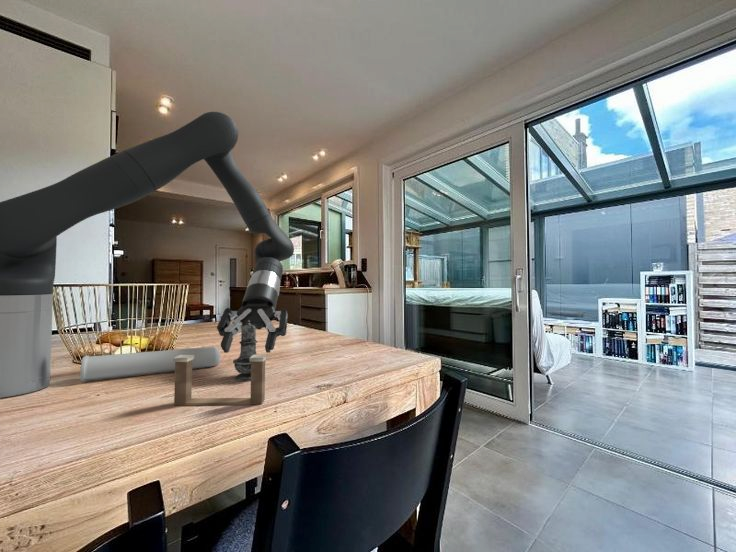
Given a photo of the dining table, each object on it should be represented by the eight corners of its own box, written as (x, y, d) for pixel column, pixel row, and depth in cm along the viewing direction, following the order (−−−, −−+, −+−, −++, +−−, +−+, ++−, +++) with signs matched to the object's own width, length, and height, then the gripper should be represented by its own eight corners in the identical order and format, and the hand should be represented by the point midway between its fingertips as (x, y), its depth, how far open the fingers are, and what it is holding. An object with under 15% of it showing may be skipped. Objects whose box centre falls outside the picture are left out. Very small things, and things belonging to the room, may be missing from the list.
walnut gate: (172, 405, 51) (173, 358, 51) (179, 400, 53) (180, 355, 53) (262, 404, 51) (263, 357, 52) (266, 399, 54) (266, 354, 54)
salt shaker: (256, 371, 70) (257, 317, 70) (266, 378, 66) (267, 320, 66) (228, 376, 66) (229, 319, 67) (237, 383, 62) (238, 322, 62)
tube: (219, 346, 79) (87, 357, 66) (222, 343, 75) (82, 353, 61) (219, 368, 77) (84, 384, 64) (222, 366, 73) (78, 382, 60)
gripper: (228, 281, 74) (205, 340, 62) (290, 282, 74) (278, 340, 63) (236, 303, 79) (216, 360, 67) (294, 303, 80) (284, 360, 68)
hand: (246, 350), depth 65 cm, fingers open, 8 cm apart
